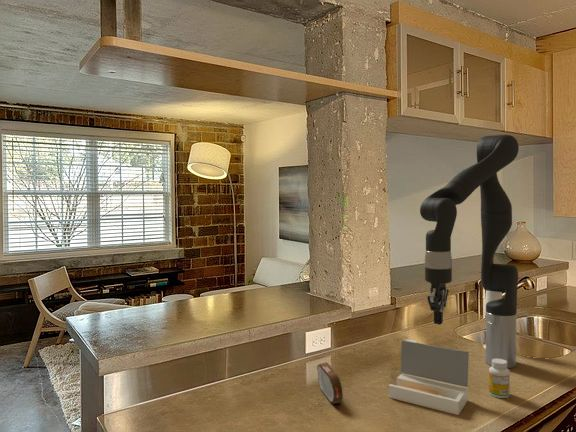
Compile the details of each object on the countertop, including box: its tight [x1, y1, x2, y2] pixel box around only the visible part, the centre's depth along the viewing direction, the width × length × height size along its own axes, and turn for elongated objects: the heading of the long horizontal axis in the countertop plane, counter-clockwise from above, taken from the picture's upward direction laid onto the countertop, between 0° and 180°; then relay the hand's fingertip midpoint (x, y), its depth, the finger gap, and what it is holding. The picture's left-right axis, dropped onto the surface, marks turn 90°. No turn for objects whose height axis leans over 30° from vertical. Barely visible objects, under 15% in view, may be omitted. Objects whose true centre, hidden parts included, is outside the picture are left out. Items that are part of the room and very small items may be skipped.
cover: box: [400, 339, 470, 388], centre depth 133 cm, size 10×19×1 cm
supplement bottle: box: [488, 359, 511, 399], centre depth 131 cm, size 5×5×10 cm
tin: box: [316, 361, 344, 405], centre depth 132 cm, size 15×3×8 cm, turn 14°
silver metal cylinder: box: [483, 290, 503, 349], centre depth 169 cm, size 7×7×24 cm
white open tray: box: [388, 373, 469, 416], centre depth 129 cm, size 10×19×4 cm, turn 55°
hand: (438, 323), depth 137 cm, fingers closed
